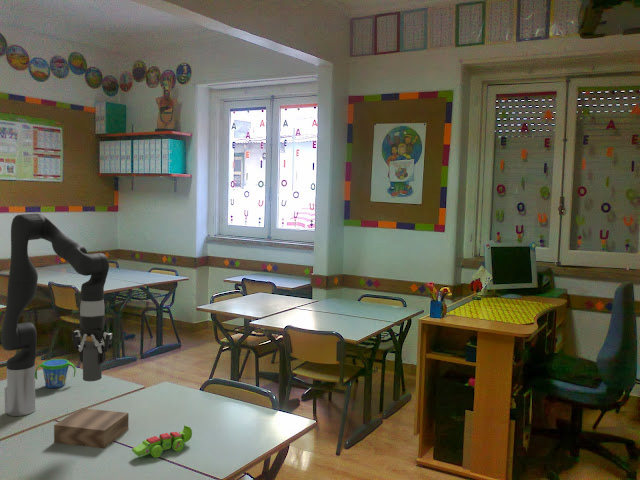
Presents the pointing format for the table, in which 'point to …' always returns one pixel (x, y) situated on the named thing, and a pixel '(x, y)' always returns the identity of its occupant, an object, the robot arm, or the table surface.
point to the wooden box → (91, 428)
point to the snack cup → (55, 372)
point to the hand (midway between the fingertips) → (92, 362)
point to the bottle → (91, 361)
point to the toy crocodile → (163, 443)
